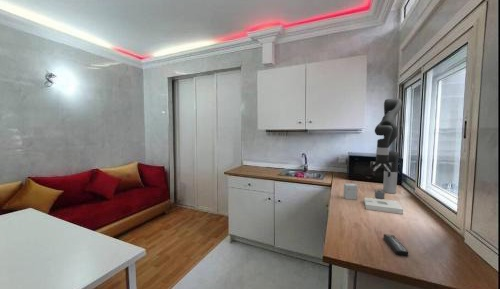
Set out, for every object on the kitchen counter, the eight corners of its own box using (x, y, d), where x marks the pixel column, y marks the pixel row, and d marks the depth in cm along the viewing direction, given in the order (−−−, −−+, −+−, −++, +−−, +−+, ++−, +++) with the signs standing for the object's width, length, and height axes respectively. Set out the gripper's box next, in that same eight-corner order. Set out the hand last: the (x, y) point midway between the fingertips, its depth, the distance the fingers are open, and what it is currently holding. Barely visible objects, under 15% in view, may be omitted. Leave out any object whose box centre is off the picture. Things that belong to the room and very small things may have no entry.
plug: (374, 199, 160) (374, 188, 159) (382, 200, 158) (383, 189, 157) (375, 201, 155) (375, 190, 154) (384, 202, 153) (384, 191, 152)
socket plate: (364, 201, 156) (364, 196, 156) (397, 205, 148) (397, 200, 148) (366, 209, 141) (366, 203, 141) (402, 214, 133) (403, 208, 133)
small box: (354, 197, 166) (354, 183, 165) (357, 199, 160) (357, 185, 159) (343, 196, 166) (343, 183, 165) (345, 199, 161) (346, 185, 160)
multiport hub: (396, 256, 91) (396, 250, 91) (383, 238, 105) (383, 234, 105) (408, 257, 90) (408, 252, 90) (393, 239, 104) (393, 235, 104)
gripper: (393, 153, 154) (391, 176, 155) (370, 152, 159) (369, 174, 161) (395, 155, 147) (394, 178, 148) (371, 154, 152) (370, 176, 154)
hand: (381, 176), depth 155 cm, fingers open, 8 cm apart
